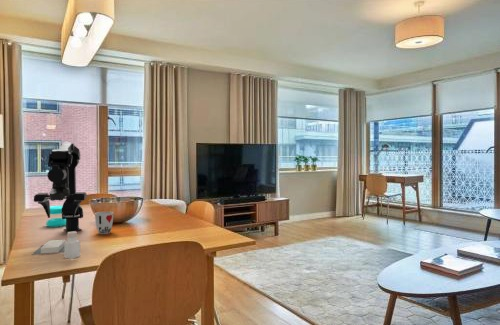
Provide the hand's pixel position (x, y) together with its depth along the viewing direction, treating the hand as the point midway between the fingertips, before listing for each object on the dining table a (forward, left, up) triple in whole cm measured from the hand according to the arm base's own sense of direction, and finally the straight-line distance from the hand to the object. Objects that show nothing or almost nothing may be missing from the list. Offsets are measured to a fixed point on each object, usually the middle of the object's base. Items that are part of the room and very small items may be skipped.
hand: (61, 217), depth 147 cm
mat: (+5, -4, -12) cm, 13 cm away
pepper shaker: (+22, -3, -12) cm, 25 cm away
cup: (-9, +21, -12) cm, 26 cm away
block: (+1, -2, -10) cm, 10 cm away
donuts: (-44, +10, -12) cm, 47 cm away
